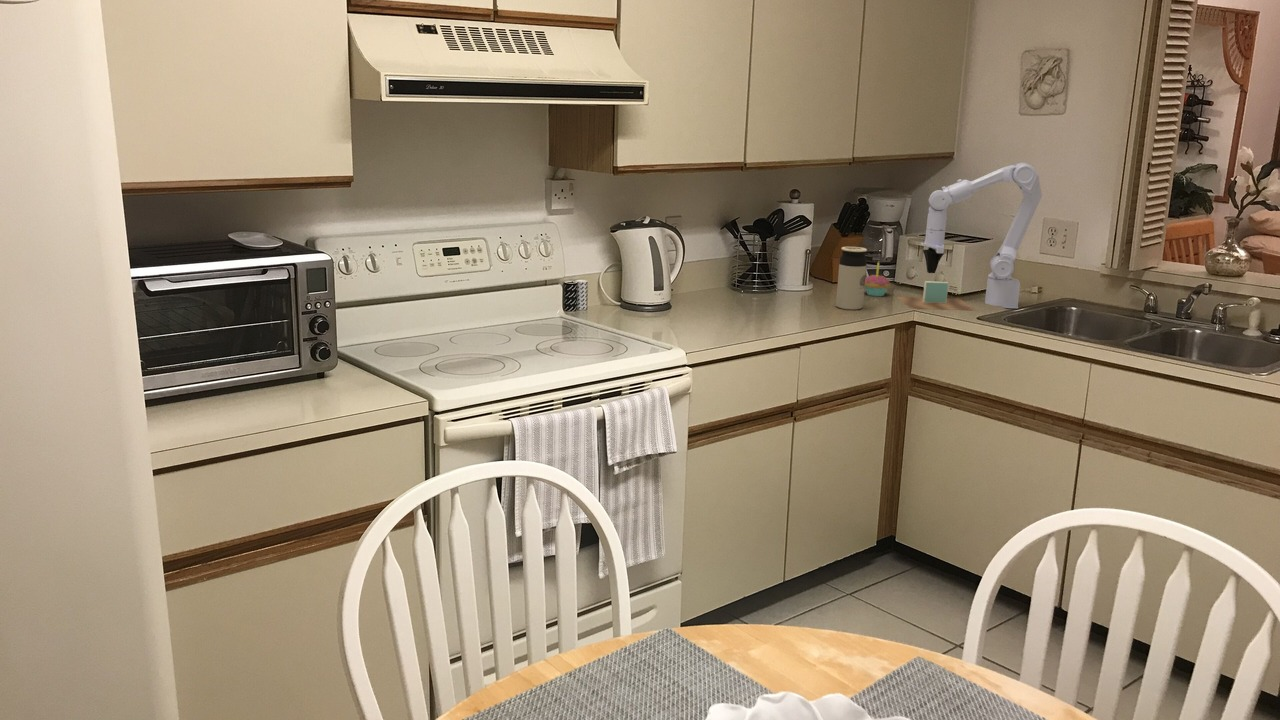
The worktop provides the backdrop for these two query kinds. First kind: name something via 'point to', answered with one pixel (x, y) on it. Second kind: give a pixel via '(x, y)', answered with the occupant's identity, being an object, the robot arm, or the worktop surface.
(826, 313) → the worktop surface
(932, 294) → the tile
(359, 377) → the worktop surface
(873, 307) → the worktop surface
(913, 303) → the board
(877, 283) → the cupcake
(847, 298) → the travel mug
